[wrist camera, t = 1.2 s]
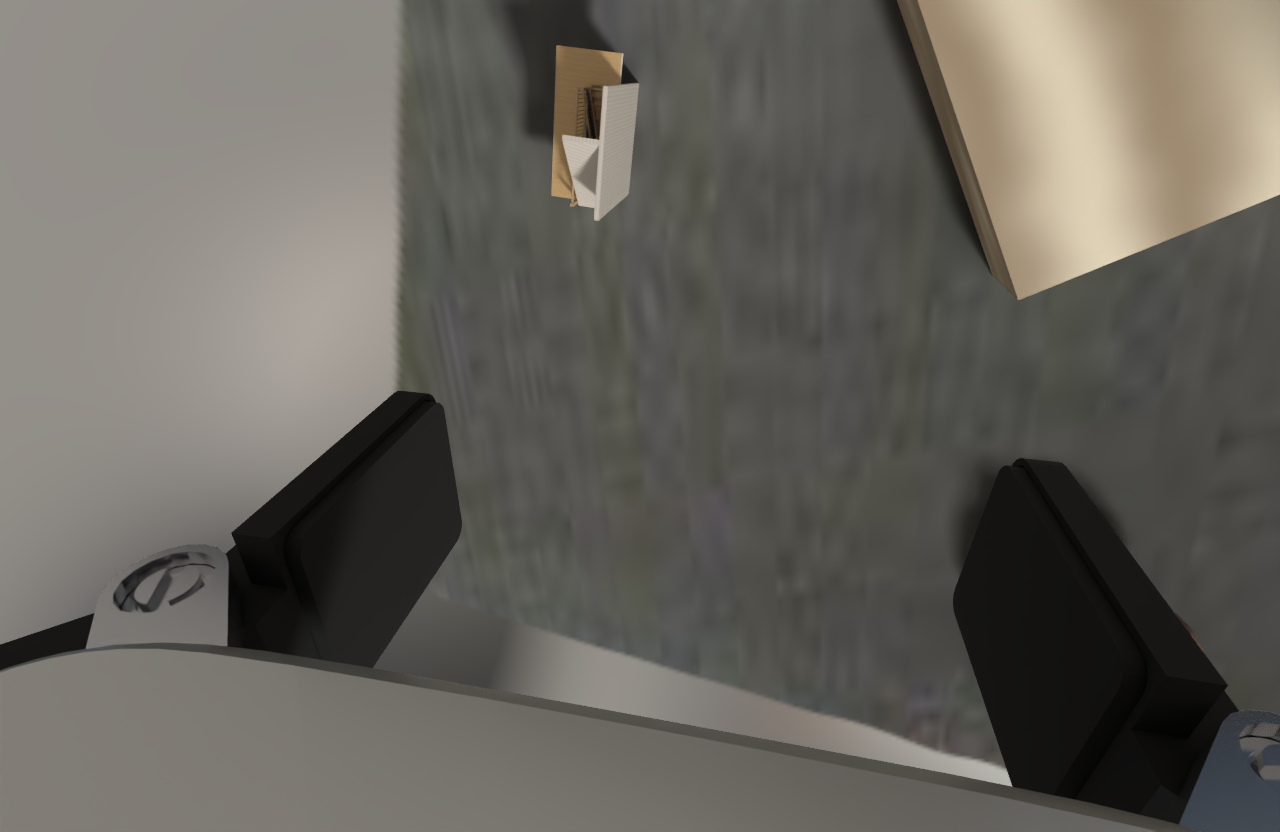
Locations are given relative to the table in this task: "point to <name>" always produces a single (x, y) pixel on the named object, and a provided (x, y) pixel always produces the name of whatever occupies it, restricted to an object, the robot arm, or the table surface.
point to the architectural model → (585, 163)
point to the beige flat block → (1100, 121)
